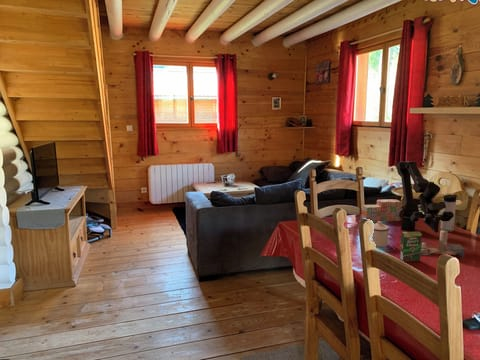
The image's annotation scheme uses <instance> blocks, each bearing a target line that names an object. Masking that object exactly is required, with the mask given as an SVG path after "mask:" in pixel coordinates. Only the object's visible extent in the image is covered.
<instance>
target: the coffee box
mask: <svg viewBox="0 0 480 360" xmlns="http://www.w3.org/2000/svg"><path fill="white" fill-rule="evenodd" d="M400 234H401V236H400V237H401V238H400V255H399V258H400V261H402V262H403V261H404V262H406V263H407V262H421V255H420V253H421V246H422V234H423V233H421V231H402V232H401V233H400Z"/></svg>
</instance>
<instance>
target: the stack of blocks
mask: <svg viewBox="0 0 480 360" xmlns="http://www.w3.org/2000/svg"><path fill="white" fill-rule="evenodd" d="M361 209H362V211H361V219H362V218H366V219H370V220H372V221H373V222H372V223H374V222H375V223H378V221H380V222H382V223H383V222H400V221H401V218H400V217H399V213H400V211H401V210H402V201H400V200H398V199H395V198H394V199H391V198H390V199H388V198H387V199H377V200H376V204H362V208H361Z"/></svg>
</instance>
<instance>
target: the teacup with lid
mask: <svg viewBox="0 0 480 360" xmlns="http://www.w3.org/2000/svg"><path fill="white" fill-rule="evenodd" d="M373 224H374V233H373V237H372V238H373V241H374V242H375V244H376V246H375V247H377V248H384V247H387V246H388V245H389V230H390V227H389V226H388V225H385V224H384V223H383V222H380V221H378V222H375V223H373Z"/></svg>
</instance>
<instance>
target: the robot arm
mask: <svg viewBox="0 0 480 360" xmlns="http://www.w3.org/2000/svg"><path fill="white" fill-rule="evenodd" d="M395 168H396V171H397V172H396V173H397V174H398V175H399V177H400V179H401V185H402V187H401V188H402V193H403V201H404V202H403V204H401V211H400V213H399V217H400V220H401V226H400V230H404V231H409V232H415V231H414V230H415V229H416V223H417V222H419V220H420V219H423V221H422V222H423V223H424V224H426V226H428V227H429V228H430V229H431V230H432V231H433V232H434V233H437V234H438V233H439V229H440V227H439V226H440V222H441V221H450V220H451V219H452V218H453V217H454V214H453V212H451V211H444V212H443V213H442V212H441V211H442V210H443V209H444V208H446V204H445V202H443V201H440V202H434V199H435V198H436V197H437V195H438V194H439V193H441V192H440V191H441V187H440V186H439V185H438V184H436V183H435V182H434V181H429V180H428V179H426V178H425V177H424V176H423V175H422V173H421V171H420V169H419V167H418V166H417V162H416V161H412V160H411V161H409V160H408V161H398V163H396V164H395ZM412 181H413V185H412ZM413 191H414V192H415V193H416V194H419V196H418V197H417V201H419V202H420V206H421V208H420V210H421V211H420V210H419V203H418V202H415V200H414V194H413ZM440 212H441V213H440ZM423 223H422V224H423Z"/></svg>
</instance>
